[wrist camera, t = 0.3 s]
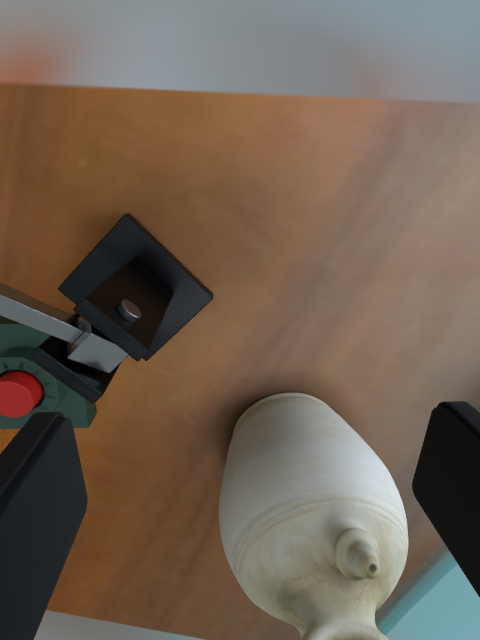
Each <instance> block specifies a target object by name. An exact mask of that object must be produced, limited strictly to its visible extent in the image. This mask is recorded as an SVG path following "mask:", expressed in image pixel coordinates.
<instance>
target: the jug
mask: <svg viewBox="0 0 480 640" xmlns="http://www.w3.org/2000/svg"><path fill="white" fill-rule="evenodd" d="M219 523H220V532H221V538H222V543H223V547H224V551H225V554H226V557H227V560H228V562H229V565H230V567H231V569H232V571H233V573H234V575H235V577H236V579H237V581H238V583H239V584H240V586H241V588H242V589H243V590H244V592H245V593H246V595H247V596H248V597H249V598H250V599H251V600H252V602H253V603H255V604H256V605H257V606H258V607H260V608H261V609H262V610H264V611H266V612H267V613H269V614H270V615H272V616H274V617H276V618H278V619H280V620H282V621H284V622H287V623H289V624H291V625H294V626H295V627H296V628H297V629H298V630H299V632H300V636H301V639H300V640H389V639H388V638H387V637H386V636H385V635H384V634H382V633H381V632H380V631H379V630H378V629H377V627H376V624H375V612H376V611H377V610H378V609H379V608H380V607H381V606H382V605H383V603H384V602H385V601H386V599H387V598H388V597H389V595H390V594H391V593H392V591H393V589H394V588H395V586H396V584H397V582H398V580H399V578H400V577H401V574H402V572H403V570H404V567H405V563H406V559H407V551H408V530H407V520H406V515H405V511H404V507H403V503H402V500H401V497H400V495H399V492H398V490H397V487H396V485H395V483H394V481H393V479H392V477H391V475H390V473H389V471H388V470H387V468H386V467H385V465H384V464H383V462H382V461H381V460H380V458H379V457H378V456H377V455H376V454H375V452H374V451H373V450H372V449H371V448H370V447H369V446H368V445H367V444H366V442H365V441H364V440H363V439H362V438H361V437H360V436H359V435H358V434H357V433H356V432H355V431H354V430H353V429H352V428H351V427H350V426H349V425H348V424H347V423H346V422H345V421H344V420H343V419H342V418H341V417H340V416H339V415H338V414H337V413H336V412H335V411H333V410H332V409H331V408H330V407H329V406H328V405H327V404H326V403H324V402H323V401H321V400H319V399H318V398H316V397H313V396H311V395H308V394H304V393H296V392H287V393H279V394H274V395H271V396H268V397H265V398H263V399H261V400H259V401H258V402H256V403H254V404H253V405H252V406H250V407H249V408H248V409H247V410H246V411H245V412H244V413H243V414H242V415H241V417H240V418H239V419H238V421H237V423H236V425H235V428H234V431H233V436H232V439H231V442H230V445H229V450H228V455H227V460H226V464H225V469H224V475H223V480H222V486H221V492H220V500H219Z"/></svg>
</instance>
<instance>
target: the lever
mask: <svg viewBox="0 0 480 640" xmlns="http://www.w3.org/2000/svg"><path fill="white" fill-rule="evenodd" d="M0 315H1V316H3V317H6V318H8V319H11V320H13V321H16V322H19V323H21V324H24V325H26V326H29V327H31V328H34V329H36V330H39V331H41V332H44V333H47V334H49V335H52V336H54V337H57V338H59V339H62V340H64V341H67V358H68V359H70V360H73V361H76V362H79V363H82V364H84V365H87V366H90V367H93V368H96V369H98V370H101V371H104V372H107V373H110V372H111V371H112V370H114V369H115V368H116V367H117V366H118V365H119V364H120V363H121V362H122V361H123V360H124V359H125V358H126V357H127V356H128V354H127V353H126V352H125V351H123V350H122V349H121V348H120V347H119V346H117V345H116V344H115V343H114V342H112V341H111V340H110V339H109V338H107V337H106V336H105V335H104V334H102V333H101V332H100V331H99V330H97V329H96V328H95V327H94V326H92V325H91V324H90V323H89V322H87V321H86V320H85V319H84V318H82V317H81V316H80V317H79V318H77V317H75V316H72V315H70V314H68V313H66V312H64V311H61V310H59V309H57V308H55V307H53V306H50V305H48V304H46V303H44V302H42V301H40V300H37V299H35V298H33V297H31V296H29V295H26V294H24V293H22V292H20V291H18V290H15V289H13V288H11V287H9V286H7V285H4V284H2V283H0Z"/></svg>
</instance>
